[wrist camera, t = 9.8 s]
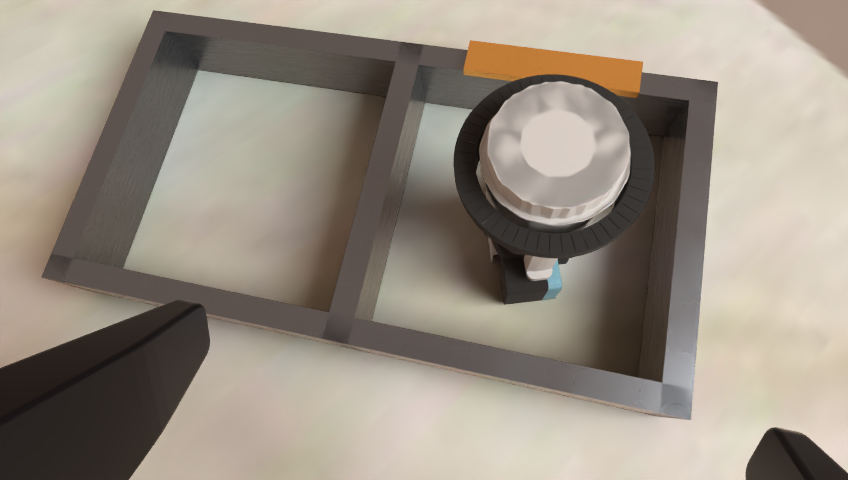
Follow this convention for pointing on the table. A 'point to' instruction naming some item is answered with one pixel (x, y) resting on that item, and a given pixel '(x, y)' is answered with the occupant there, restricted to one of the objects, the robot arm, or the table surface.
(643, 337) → the grey divided tray
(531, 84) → the push button
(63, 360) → the robot arm
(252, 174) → the table surface
